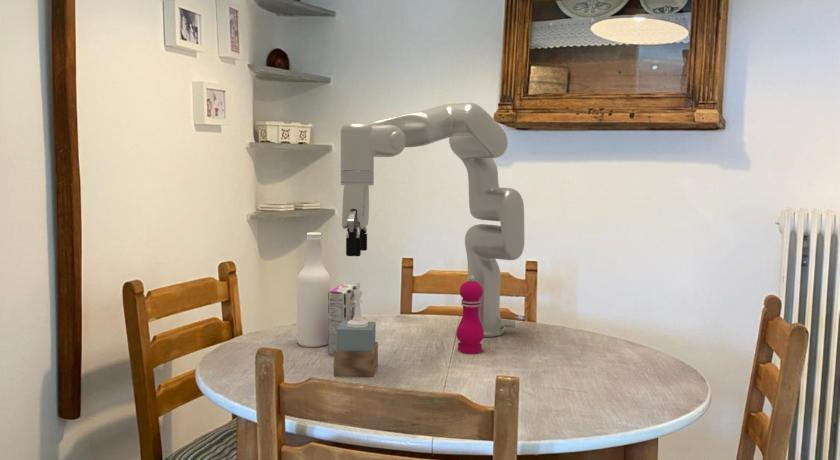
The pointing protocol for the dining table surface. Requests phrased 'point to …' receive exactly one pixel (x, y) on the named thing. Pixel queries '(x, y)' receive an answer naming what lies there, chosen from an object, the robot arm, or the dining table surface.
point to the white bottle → (313, 296)
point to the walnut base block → (356, 363)
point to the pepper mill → (470, 318)
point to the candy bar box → (339, 310)
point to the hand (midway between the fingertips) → (356, 253)
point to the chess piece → (357, 311)
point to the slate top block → (356, 337)
